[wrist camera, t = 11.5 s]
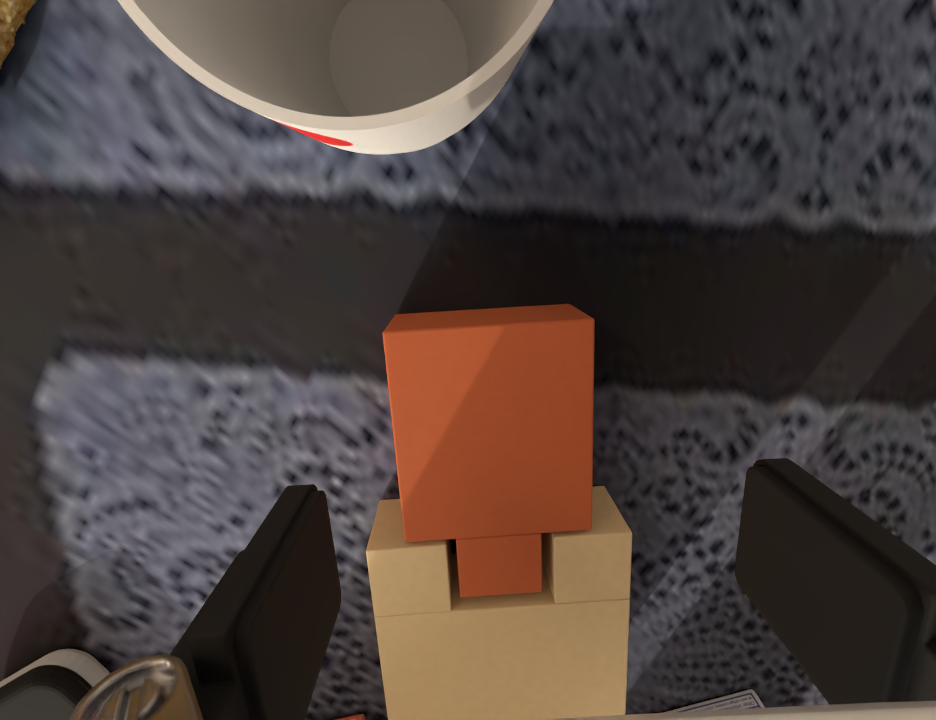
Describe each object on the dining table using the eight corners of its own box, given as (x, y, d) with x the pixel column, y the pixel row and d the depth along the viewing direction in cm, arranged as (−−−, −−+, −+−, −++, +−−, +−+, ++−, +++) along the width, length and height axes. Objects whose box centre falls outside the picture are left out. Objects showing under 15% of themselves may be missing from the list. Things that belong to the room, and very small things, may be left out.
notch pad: (379, 499, 21) (365, 550, 18) (604, 484, 21) (633, 532, 18) (400, 677, 24) (391, 752, 20) (600, 663, 24) (625, 735, 20)
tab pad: (394, 313, 19) (381, 331, 15) (570, 303, 19) (595, 318, 16) (417, 544, 22) (410, 601, 18) (570, 533, 22) (592, 589, 18)
